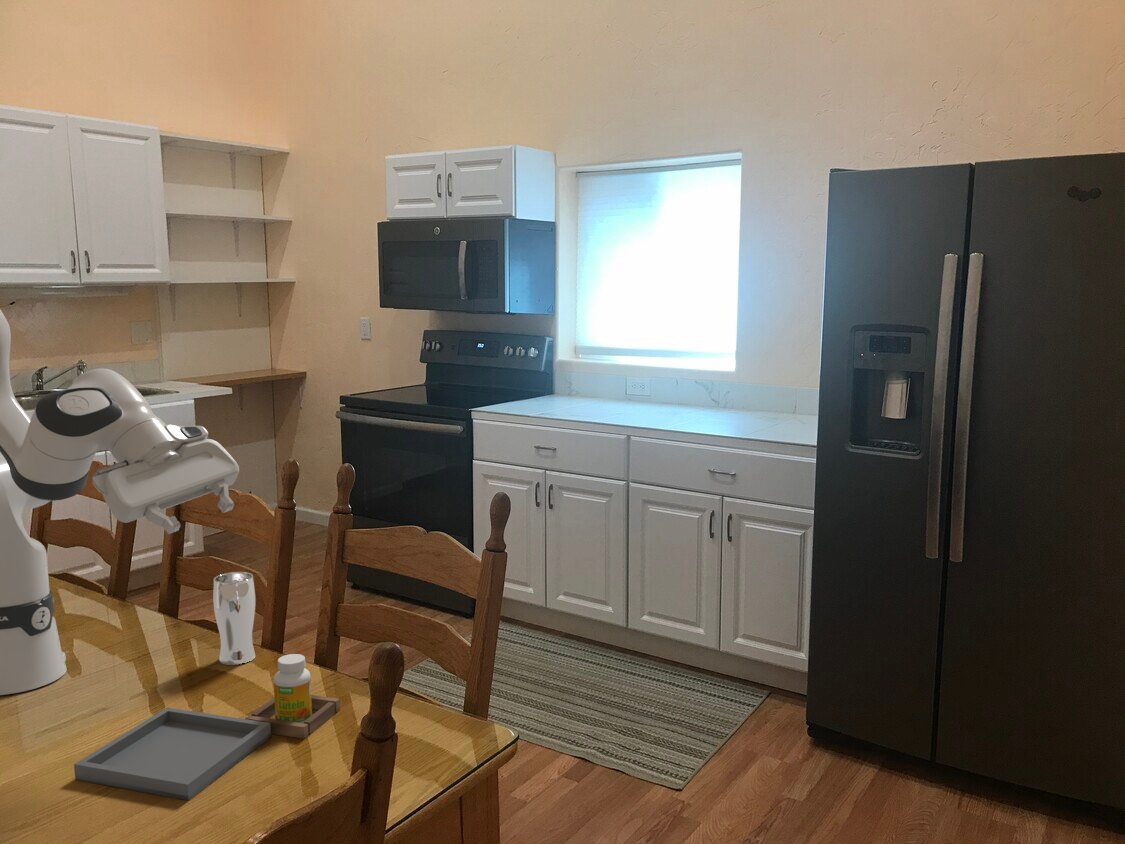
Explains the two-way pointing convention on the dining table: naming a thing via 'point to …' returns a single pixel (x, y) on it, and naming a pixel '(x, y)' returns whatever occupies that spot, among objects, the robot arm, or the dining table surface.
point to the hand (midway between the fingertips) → (203, 519)
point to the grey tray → (173, 753)
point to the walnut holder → (294, 729)
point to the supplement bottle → (292, 689)
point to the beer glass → (235, 616)
